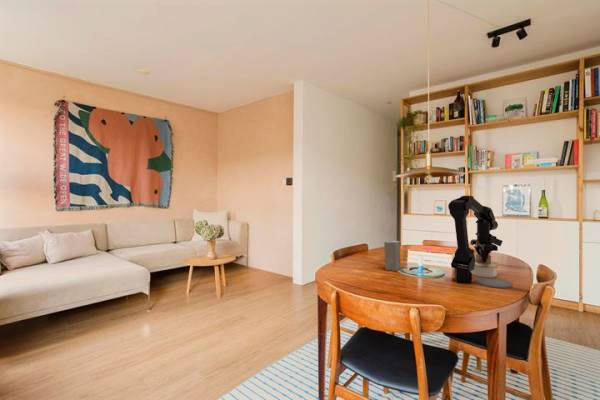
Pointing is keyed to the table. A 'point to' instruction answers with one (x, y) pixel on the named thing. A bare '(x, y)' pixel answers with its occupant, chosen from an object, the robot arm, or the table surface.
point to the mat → (493, 282)
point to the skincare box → (392, 255)
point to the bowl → (484, 271)
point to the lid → (486, 264)
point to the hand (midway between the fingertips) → (483, 261)
